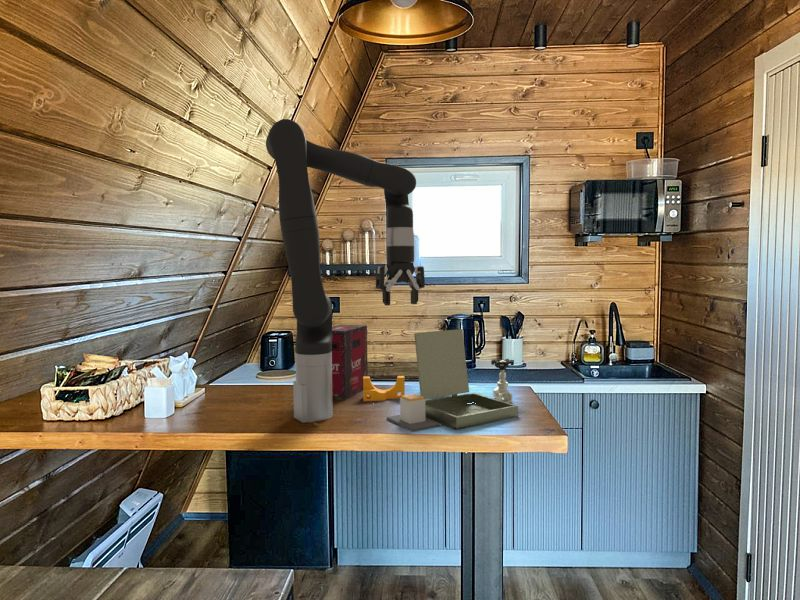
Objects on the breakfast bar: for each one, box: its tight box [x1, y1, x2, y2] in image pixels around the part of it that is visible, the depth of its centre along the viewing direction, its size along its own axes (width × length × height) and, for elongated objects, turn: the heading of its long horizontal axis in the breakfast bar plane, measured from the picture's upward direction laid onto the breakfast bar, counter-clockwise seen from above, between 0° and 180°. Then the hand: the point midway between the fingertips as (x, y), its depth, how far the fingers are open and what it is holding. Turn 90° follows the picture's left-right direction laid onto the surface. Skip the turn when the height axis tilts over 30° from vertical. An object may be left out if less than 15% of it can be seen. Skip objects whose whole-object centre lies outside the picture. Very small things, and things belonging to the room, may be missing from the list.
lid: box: [413, 328, 470, 400], centre depth 152 cm, size 16×18×2 cm
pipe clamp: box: [362, 375, 406, 402], centre depth 162 cm, size 12×4×6 cm, turn 93°
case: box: [425, 392, 519, 431], centre depth 145 cm, size 20×22×11 cm
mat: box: [386, 414, 441, 432], centre depth 137 cm, size 8×12×1 cm, turn 32°
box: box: [332, 324, 369, 401], centre depth 170 cm, size 16×9×20 cm, turn 160°
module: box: [399, 393, 426, 424], centre depth 137 cm, size 4×4×6 cm
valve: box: [490, 358, 515, 404], centre depth 156 cm, size 7×7×12 cm
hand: (400, 304), depth 151 cm, fingers open, 8 cm apart
